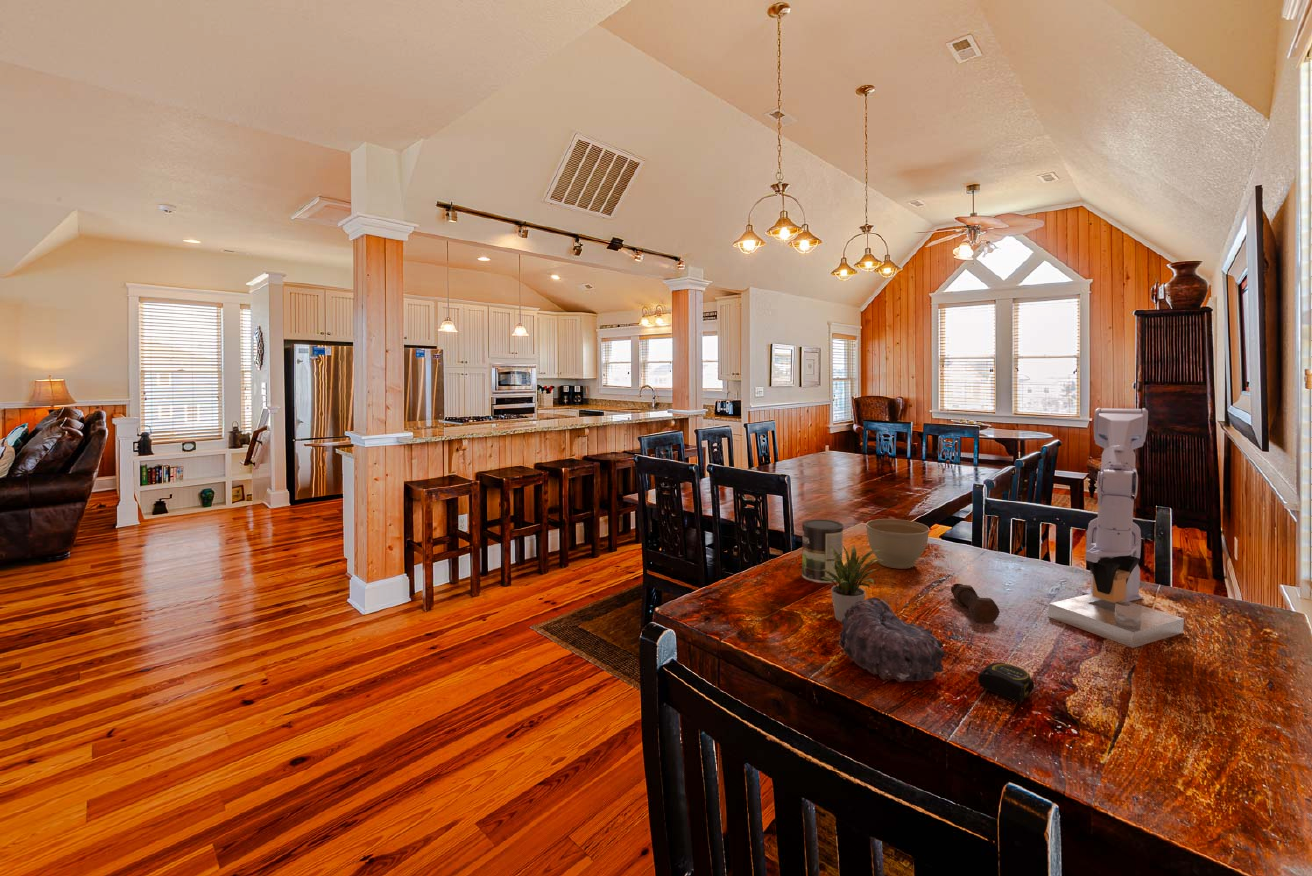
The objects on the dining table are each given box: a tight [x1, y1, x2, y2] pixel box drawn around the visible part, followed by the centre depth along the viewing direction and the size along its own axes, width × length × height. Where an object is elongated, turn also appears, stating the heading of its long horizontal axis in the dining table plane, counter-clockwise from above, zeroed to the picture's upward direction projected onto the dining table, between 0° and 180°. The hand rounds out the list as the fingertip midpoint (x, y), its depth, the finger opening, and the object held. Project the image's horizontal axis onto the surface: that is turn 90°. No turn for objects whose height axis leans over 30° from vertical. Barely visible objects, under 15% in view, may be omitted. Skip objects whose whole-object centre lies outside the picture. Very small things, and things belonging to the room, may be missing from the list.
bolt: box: [950, 583, 1000, 624], centre depth 130 cm, size 6×5×15 cm
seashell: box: [838, 596, 946, 683], centre depth 105 cm, size 19×13×15 cm
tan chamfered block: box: [1089, 567, 1130, 602], centre depth 123 cm, size 4×5×6 cm
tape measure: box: [977, 662, 1035, 703], centre depth 96 cm, size 7×7×4 cm
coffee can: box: [801, 518, 844, 584], centre depth 152 cm, size 10×10×14 cm
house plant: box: [816, 543, 885, 623], centre depth 125 cm, size 14×14×16 cm
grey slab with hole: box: [1048, 593, 1185, 649], centre depth 121 cm, size 16×16×7 cm
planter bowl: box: [865, 518, 930, 570], centre depth 162 cm, size 16×16×11 cm
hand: (1110, 590), depth 123 cm, fingers closed on tan chamfered block, 4 cm apart
